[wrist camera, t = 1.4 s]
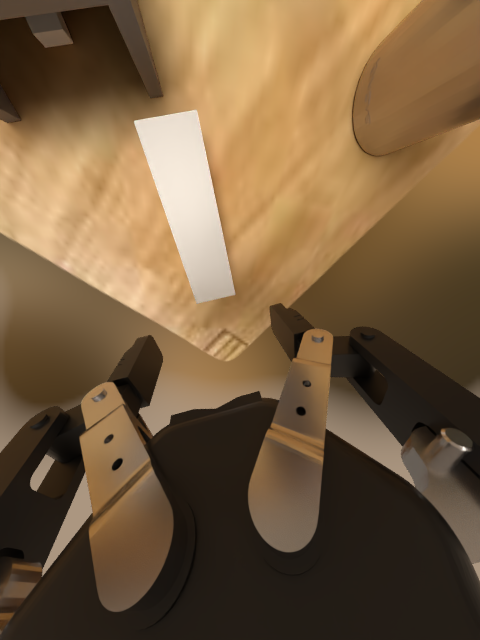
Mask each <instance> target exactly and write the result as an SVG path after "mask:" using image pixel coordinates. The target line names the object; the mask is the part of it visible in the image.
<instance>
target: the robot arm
mask: <svg viewBox="0 0 480 640" xmlns="http://www.w3.org/2000/svg"><path fill="white" fill-rule="evenodd" d="M479 119H480V0H422V1H421V2H420V3H419V4H418V5H417V6H416V7H415V8H414V9H413V10H412V11H411V12H410V13H409V14H408V15H407V17H406V18H405V19H404V20H403V21H402V22H401V23H400V24H399V25H398V26H397V27H396V28H395V29H394V30H393V31H392V32H391V33H390V34H389V35H388V36H387V37H386V38H385V39H384V40H383V41H382V43H381V44H380V45H379V46H378V47H377V49H376V50H375V51H374V52H373V54H372V56H371V58H370V59H369V61H368V63H367V64H366V66H365V69H364V71H363V73H362V75H361V78H360V81H359V84H358V87H357V91H356V95H355V101H354V107H353V124H354V131H355V135H356V138H357V141H358V143H359V144H360V146H361V148H362V149H363V150H364V151H365V152H367V153H369V154H371V155H375V156H381V155H386V154H389V153H391V152H394V151H397V150H399V149H402V148H405V147H407V146H410V145H413V144H415V143H418V142H421V141H423V140H426V139H429V138H431V137H434V136H437V135H439V134H442V133H444V132H447V131H450V130H452V129H455V128H458V127H460V126H463V125H466V124H468V123H471V122H473V121H476V120H479ZM270 318H271V327H272V330H273V333H274V335H275V336H276V338H277V339H278V341H279V343H280V344H281V346H282V347H283V349H284V351H285V352H286V354H287V355H288V357H289V359H290V360H291V362H292V363H291V366H290V369H289V372H288V375H287V378H286V382H285V385H284V388H283V391H282V394H281V397H280V400H276V399H271V398H261V395H260V392H259V391H258V392H254V393H251V394H247V395H243V396H240V397H237V398H235V399H233V400H232V401H230V402H228V403H226V404H224V405H222V406H221V407H219V408H216V409H193V410H190V411H186V412H182V413H179V414H175V415H171V420H170V424H169V425H167V426H166V427H164V428H163V429H161V430H160V431H159V432H158V433H156V435H154V436H153V435H152V433H151V432H150V430H149V428H148V427H147V425H146V423H145V421H144V420H143V418H142V417H141V415H140V414H139V413H138V412H139V409H140V408H143V407H146V406H149V405H150V402H151V399H152V395H153V392H154V389H155V386H156V382H157V379H158V376H159V372H160V369H161V366H162V363H163V356H162V353H161V351H160V349H159V347H158V346H157V344H156V342H155V340H154V338H153V337H152V336H151V335H148V336H144V337H140V338H138V339H137V340H136V341H135V343H134V345H133V346H132V347H131V348H130V349H129V350H128V351H127V352H126V353H125V354H124V355H123V357H122V359H121V361H120V362H119V363H118V366H116V368H115V370H114V372H113V373H112V374H111V376H110V378H109V379H108V381H107V382H106V383H103V384H101V385H99V386H97V387H95V388H94V389H92V390H91V391H90V392H89V393H88V394H87V395H86V396H85V397H84V398H83V400H82V402H81V404H80V405H78V406H76V407H74V408H72V409H70V410H68V411H66V412H65V411H64V410H63V409H61V408H60V407H58V406H54V407H50V408H48V409H46V410H44V411H42V412H40V413H38V414H37V415H35V416H34V417H33V418H31V419H30V420H29V421H28V422H27V423H26V424H25V425H24V426H23V427H22V428H21V429H20V430H19V432H18V433H17V434H16V435H15V436H14V438H13V439H12V440H11V441H10V442H9V443H8V445H7V446H6V447H5V448H4V449H3V450H2V452H1V453H0V640H480V581H479V579H478V576H477V574H476V572H475V570H474V567H473V565H472V564H474V563H478V562H480V398H479V397H477V396H476V395H474V394H473V393H471V392H470V391H468V390H467V389H465V388H464V387H462V386H461V385H459V384H458V383H456V382H455V381H453V380H452V379H451V378H449V377H448V376H446V375H445V374H443V373H442V372H440V371H439V370H437V369H436V368H434V367H433V366H431V365H430V364H428V363H427V362H425V361H424V360H422V359H421V358H419V357H418V356H416V355H415V354H413V353H412V352H410V351H409V350H407V349H406V348H405V347H403V346H402V345H400V344H398V343H397V342H395V341H394V340H393V339H391V338H390V337H388V336H387V335H385V334H384V333H382V332H381V331H379V330H377V329H374V328H370V327H356V328H354V329H352V330H351V332H350V336H339V337H333V336H332V334H331V333H329V332H328V331H325V330H321V329H315V328H314V327H313V326H312V325H311V324H310V323H309V322H308V321H307V320H305V319H304V317H302V316H301V315H300V314H299V313H298V312H297V311H296V310H293V309H291V308H289V309H286V308H285V307H284V306H283V305H282V304H281V303H279V304H275V305H271V306H270ZM377 370H378V371H379V372H380V373H381V374H382V375H383V376H384V377H385V378H384V377H383V376H382V375H381V374H380V373H379V372H378V371H377ZM330 377H346V378H347V380H348V381H349V382H350V383H351V385H352V386H353V387H354V388H355V389H356V391H357V392H358V393H359V394H360V395H361V397H362V398H363V399H364V400H365V402H366V403H367V404H368V405H369V406H370V408H371V409H372V410H373V411H374V412H375V413H376V415H377V416H378V417H379V419H380V420H381V421H382V422H383V423H384V425H385V426H386V427H387V428H388V429H389V431H390V432H391V433H392V434H393V435H394V437H395V438H396V439H397V440H398V442H399V443H400V444H401V445H402V446H403V447H402V449H401V458H402V460H403V463H404V465H405V467H406V468H407V470H408V472H409V473H410V475H411V477H412V479H413V481H414V484H415V487H414V486H413V485H412V484H410V483H409V482H408V481H406V480H405V479H404V478H402V477H401V476H399V475H398V474H396V473H395V472H393V471H391V470H390V469H388V468H387V467H385V466H383V465H382V464H381V463H379V462H377V461H376V460H374V459H373V458H371V457H369V456H368V455H366V454H365V453H363V452H362V451H360V450H359V449H357V448H356V447H354V446H352V445H351V444H349V443H348V442H346V441H345V440H343V439H341V438H340V437H338V436H337V435H335V434H333V433H332V432H331V431H329V430H327V429H326V418H327V407H328V396H329V385H330ZM45 454H46V455H48V456H50V457H52V458H53V459H55V461H54V463H53V464H52V466H51V468H50V470H49V471H48V473H47V475H46V476H45V478H44V480H43V481H42V483H41V485H40V486H39V488H38V490H37V492H36V491H34V490H32V489H31V487H30V480H31V477H32V475H33V473H34V471H35V470H36V468H37V467H38V465H39V464H40V462H41V461H42V459H43V458H44V456H45ZM85 472H86V477H87V483H88V488H89V494H90V500H91V505H92V511H93V513H92V514H91V515H90V516H89V518H88V519H87V520H86V522H85V523H84V524H83V525H82V527H81V528H80V529H79V531H78V532H77V533H76V534H75V536H74V537H73V538H72V540H71V541H70V542H69V543H68V545H67V546H66V547H65V549H64V550H63V551H62V552H61V554H60V555H59V556H58V558H57V559H56V560H55V561H54V563H53V564H52V565H51V566H50V568H49V569H48V570H47V572H46V573H45V574H44V575H43V577H42V569H43V567H44V565H45V563H46V560H47V558H48V556H49V553H50V551H51V549H52V547H53V544H54V542H55V540H56V537H57V535H58V533H59V531H60V528H61V526H62V524H63V521H64V519H65V517H66V514H67V512H68V510H69V508H70V506H71V503H72V501H73V499H74V496H75V493H76V492H77V490H78V487H79V485H80V483H81V480H82V478H83V476H84V473H85Z"/></svg>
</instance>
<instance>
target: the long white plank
mask: <svg viewBox="0 0 480 640" xmlns="http://www.w3.org/2000/svg"><path fill="white" fill-rule="evenodd" d="M134 124H135V127H136V129H137V132H138V135H139V138H140V141H141V144H142V147H143V150H144V153H145V155H146V158H147V161H148V164H149V167H150V170H151V173H152V176H153V179H154V181H155V184H156V187H157V190H158V193H159V196H160V199H161V202H162V205H163V208H164V210H165V213H166V216H167V219H168V222H169V225H170V228H171V231H172V234H173V236H174V239H175V242H176V245H177V248H178V251H179V254H180V257H181V260H182V262H183V265H184V268H185V271H186V274H187V277H188V280H189V283H190V286H191V289H192V291H193V294H194V297H195V300H196V303H197V304H198V303H202V302H207V301H211V300H215V299H219V298H223V297H228V296H232V295H236V294H235V290H234V285H233V280H232V275H231V271H230V266H229V261H228V256H227V252H226V247H225V242H224V237H223V232H222V228H221V223H220V218H219V213H218V209H217V204H216V199H215V194H214V189H213V185H212V180H211V175H210V170H209V166H208V161H207V156H206V151H205V147H204V142H203V137H202V132H201V127H200V123H199V118H198V113H197V110H192V111H186V112H181V113H175V114H169V115H164V116H158V117H152V118H147V119H141V120H135V121H134Z"/></svg>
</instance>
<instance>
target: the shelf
mask: <svg viewBox="0 0 480 640" xmlns="http://www.w3.org/2000/svg"><path fill="white" fill-rule="evenodd" d="M104 5H108V6H109V8H110V10H111V13H112V15H113V17H114V19H115V21H116V24H117V26H118V28H119V30H120V32H121V35H122V37H123V39H124V41H125V43H126V46H127V48H128V50H129V52H130V54H131V57H132V59H133V61H134V63H135V66H136V68H137V70H138V72H139V74H140V77H141V79H142V81H143V83H144V85H145V88H146V90H147V92H148V94H149V96H150V98H155V97H161V96H163V94H162V90H161V86H160V83H159V79H158V75H157V72H156V68H155V64H154V60H153V57H152V53H151V49H150V46H149V42H148V38H147V35H146V31H145V27H144V23H143V20H142V16H141V12H140V9H139V5H138V1H137V0H0V20H4V19H11V18H18V17H25V18H26V21H27V23H28V25H29V27H30V29H31V31H32V33H33V35H34V36H35V37H36V38H37V39H38V40H39V41H40V42H41V43H42V44H43V45H44V47H45V48H47V47H54V46H61V45H67V44H73V41H72V39H71V36H70V34H69V31H68V29H67V26H66V24H65V21H64V19H63V16H62V14H61V11H68V10H75V9H82V8H90V7H97V6H104ZM0 119H1V120H3V121H5V122H7V123H9V122H14V121H20V120H21V119H20V118H19V116H18V114H17V112H16V111H15V109H14V107H13V105H12V104H11V102H10V100H9V99H8V97H7V95H6V93H5V92H4V90H3V88H2V86H1V85H0Z"/></svg>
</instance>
